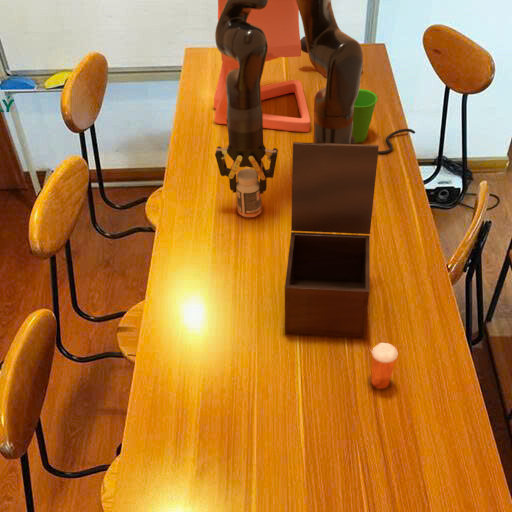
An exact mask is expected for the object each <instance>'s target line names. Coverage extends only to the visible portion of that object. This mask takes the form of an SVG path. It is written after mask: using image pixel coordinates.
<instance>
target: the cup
mask: <svg viewBox="0 0 512 512" xmlns="http://www.w3.org/2000/svg"><path fill="white" fill-rule="evenodd" d="M378 98H379V97H378V95H377V94H376V93H375V92H374V91H372V90H369V89H366V88H359V93H358V96H357V98H356V101H355V104H354V115H353V128H352V136H354V137H355V144H359V143H363V142H364V141H366V139H367V137H368V134H369V129H370V126H371V122H372V117H373V114H374V111H375V107H376V104H377V102H378V101H379V99H378Z"/></svg>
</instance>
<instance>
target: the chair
mask: <svg viewBox="0 0 512 512" xmlns="http://www.w3.org/2000/svg"><path fill="white" fill-rule="evenodd" d="M226 1H227V0H217V22H218V21H219V18H220V16H221V13H222V11H223V9H224V6H225V4H226ZM246 22H248V23H251V24H253V25H255V26H257V27H259V28H261V29H262V31H263V32H264V34H265V36H266V39H267V44H268V50H267V56H266V60H265V63H266V62H269V61H273V60H277V59H279V58H298V57H302V50H301V41H300V40H301V33H300V12H299V9H298V6H297V3H296V0H268V2H267V5H266V6H265V8H263V9H261V10H253V9H252V10H251V12H250V14H249V16H248V18H247V21H246ZM220 56H221V57H220V58H221V67H220V72H219V75H218V80H217V85H216V88H215V92H214V96H213V109H215V111H214V123H215V124H219V125H227V94H226V77H227V75H228V73H229V72H230V71H231V70H233V69H236V68H239V62H238V61H235V60H233V59H231V58H229V57H227V56H225V55H223V54H222V53H221V52H220ZM303 88H304V87H303V85H302V82H301V80H299V79H291V80H290V79H289V80H284V81H281V82H276V83H271V84H267V85H263V86H261V101H264V100H268V99H271V98H276V97H280V96H284V95H287V94H295V98H296V103H297V108H298V112H299V117H292V116H285V115H279V114H278V115H277V114H270V113H263V129H271V130H279V131H287V132H300V133H307V132H308V133H309V132H310V130H311V116H310V113H309V109H308V104H307V99H306V96H305V92H304V89H303Z"/></svg>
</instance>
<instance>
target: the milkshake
mask: <svg viewBox="0 0 512 512" xmlns="http://www.w3.org/2000/svg"><path fill="white" fill-rule="evenodd" d="M368 350H369V351H370V353H371V380H370V381H371V384H372V386H373V387H374V388H376V389H378V390H382V389H386V388H387V387H389V385H390V381H391V378H392V374H393V371H394V367H395V366H396V362H397V360H398V356H399V352H398V349H397V348H396V347H395V346H394V345H393V344H391V343H388V342H379V343H377V344H376V345H375V346H374V347H372V349H371V347H370V346H368Z"/></svg>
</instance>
